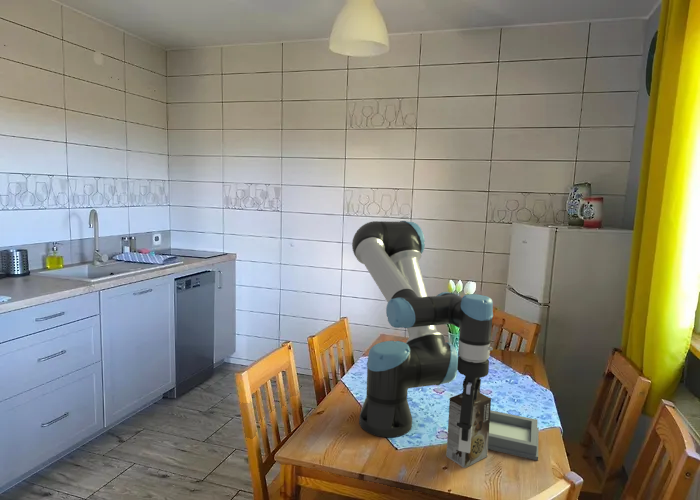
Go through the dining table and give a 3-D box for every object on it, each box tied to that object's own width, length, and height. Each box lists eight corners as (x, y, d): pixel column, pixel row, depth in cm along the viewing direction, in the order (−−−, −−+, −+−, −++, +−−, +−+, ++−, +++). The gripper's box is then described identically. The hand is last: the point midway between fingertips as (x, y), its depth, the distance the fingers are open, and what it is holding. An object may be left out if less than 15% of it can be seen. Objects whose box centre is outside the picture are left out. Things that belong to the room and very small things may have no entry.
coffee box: (468, 445, 125) (472, 388, 123) (488, 457, 120) (492, 397, 118) (444, 456, 120) (448, 396, 118) (464, 469, 115) (469, 407, 113)
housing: (473, 445, 125) (474, 433, 125) (480, 418, 140) (481, 407, 139) (537, 460, 119) (539, 447, 119) (538, 430, 134) (539, 419, 134)
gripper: (483, 378, 103) (477, 467, 106) (493, 344, 126) (488, 418, 129) (449, 372, 106) (444, 459, 109) (465, 340, 129) (461, 413, 132)
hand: (468, 437), depth 119 cm, fingers open, 13 cm apart
